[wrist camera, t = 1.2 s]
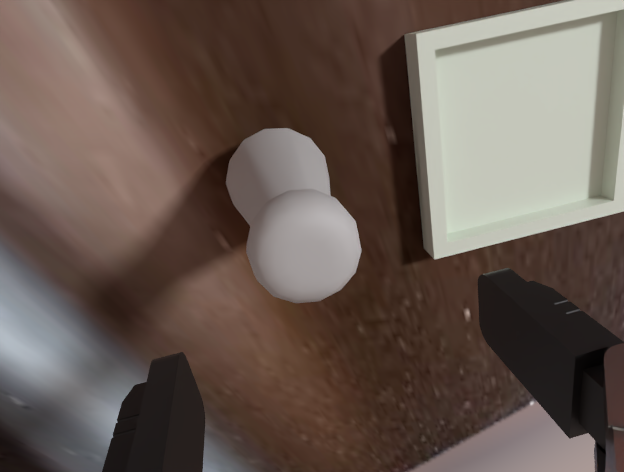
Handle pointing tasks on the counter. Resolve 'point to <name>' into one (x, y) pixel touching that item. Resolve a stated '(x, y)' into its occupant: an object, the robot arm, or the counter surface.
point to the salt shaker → (292, 216)
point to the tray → (518, 122)
